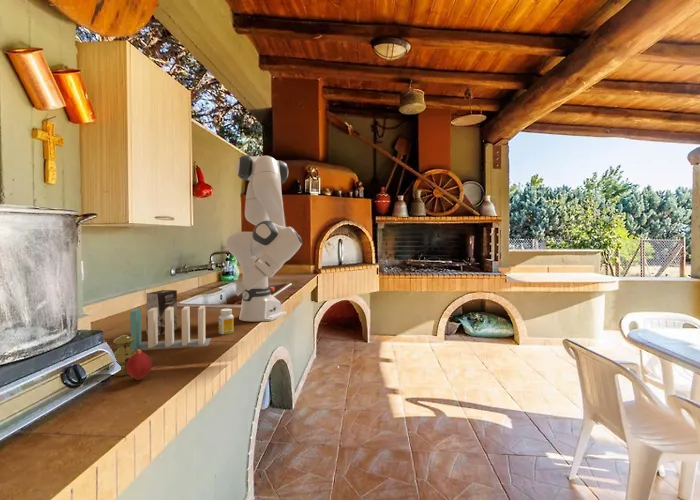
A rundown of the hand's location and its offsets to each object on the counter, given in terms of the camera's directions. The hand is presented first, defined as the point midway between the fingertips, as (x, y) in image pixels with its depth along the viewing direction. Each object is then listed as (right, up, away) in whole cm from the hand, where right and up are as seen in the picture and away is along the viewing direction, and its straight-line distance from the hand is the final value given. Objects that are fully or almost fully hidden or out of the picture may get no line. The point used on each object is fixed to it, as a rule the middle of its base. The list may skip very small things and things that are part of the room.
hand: (236, 294), depth 123 cm
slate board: (-21, -17, -5) cm, 27 cm away
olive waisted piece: (-23, -18, -26) cm, 39 cm away
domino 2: (-26, -16, -6) cm, 31 cm away
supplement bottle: (-7, -17, +11) cm, 21 cm away
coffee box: (-32, -17, +11) cm, 37 cm away
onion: (-15, -19, -31) cm, 39 cm away
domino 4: (-16, -16, -3) cm, 23 cm away
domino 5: (-11, -16, -2) cm, 20 cm away
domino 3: (-21, -16, -5) cm, 27 cm away
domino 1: (-31, -16, -7) cm, 35 cm away
